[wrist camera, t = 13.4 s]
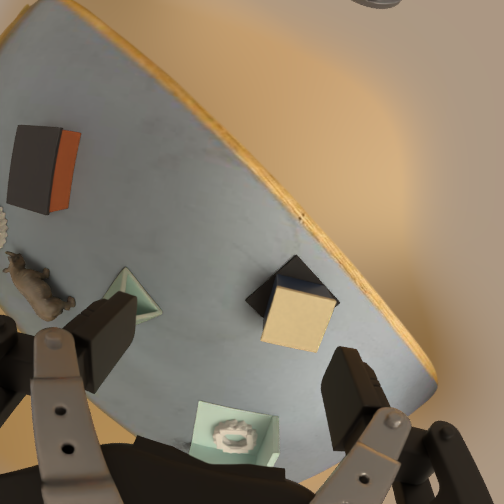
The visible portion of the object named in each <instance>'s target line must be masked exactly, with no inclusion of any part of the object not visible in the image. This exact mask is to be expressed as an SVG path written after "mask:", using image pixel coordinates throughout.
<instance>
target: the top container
mask: <svg viewBox="0 0 504 504" xmlns="http://www.w3.org/2000/svg"><path fill="white" fill-rule="evenodd" d="M335 304H336V300H335V299H332V297H331V295H330V293H329V291H328V289H327V287H326V286H324V285H320V284H316V283H312V282H308V281H304V280H300V279H296V278H292V277H288V276H284V275H280V274H276V278H275V281H274V284H273V288H272V291H271V295H270V298H269V301H268V305H267V308H266V311H265V315H264V318H263V332H262V336H261V341H263V342H268V343H272V344H277V345H281V346H286V347H291V348H295V349H300V350H305V351H310V352H315V353H317V350H318V348H319V346H320V343H321V341H322V338H323V336H324V333H325V331H326V328H327V326H328V323H329V320H330V318H331V315H332V312H333V310H334V307H335Z"/></svg>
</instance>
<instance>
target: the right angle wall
mask: <svg viewBox="0 0 504 504" xmlns="http://www.w3.org/2000/svg"><path fill="white" fill-rule="evenodd" d="M279 454H280V446H279V417H277V416H271V415H265V414H259V413H253V412H248V411H243V410H238V409H233V408H228V407H223V406H219V405H214V404H210V403H206V402H202V401H199V404H198V410H197V415H196V421H195V426H194V432H193V438H192V443H191V447H190V451H189V455H191V456H193V457H195V458H197V459H199V460H202V461H204V462H206V463H209V464H254V465H261V466H268V467H273V465H274V463H275V461H276V460H277V458H278V456H279Z"/></svg>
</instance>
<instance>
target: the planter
mask: <svg viewBox="0 0 504 504" xmlns="http://www.w3.org/2000/svg"><path fill="white" fill-rule="evenodd" d="M118 291H122V292H125V293H128V294H131V295H134V296H136V297H137V313H136V325H137V324H140V323H142V322H145V321H147V320H150V319H152V318H155V317H157V316H159V315H161V314H162V311H161V309H160V308H159V307H158V305H157V304H156V303H155V302H154V301H153V299H152V298H151V297H150V296H149V295H148V293H147V292H146V291H145V290H144V288H143V287H142V286H141V285H140V283H139V282H138V281H137V280H136V278H135V277H134V276H133V275H132V273H131V272H130V271H129V270H128V269H127V268H126V267H125V268H124V269H123V270H122V271H121V273H120V274H119V275H118V277H117V278H116V279H115V281H114V282H113V284H112V285H111V286H110V288H109V289H108V291H107V292H106V294H105V295H104V297H103V298H102V299H104V298H105V299H107V300H108V299H109V298H111V297H112V296H113V295H114V294H115V293H116V292H118Z"/></svg>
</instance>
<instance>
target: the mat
mask: <svg viewBox="0 0 504 504" xmlns="http://www.w3.org/2000/svg"><path fill="white" fill-rule="evenodd" d="M276 274H280V275H284V276H288V277H292V278H296V279H300V280H304V281H308V282H312V283H316V284H320V285H324V284H323V283H322V282H321V281H320V280H319V279H318V278H317V276H316V275H315V274H314V273H313V272H312V271H311V270H310V269H309V268H308V267H307V266H306V264H305V263H304V262H303V261H302V260H301V259H300V258H299V257H298V256H297V255H296V256H295V257H293V258H292V259H291V260H290V261H289V262H288V263H287V264H286V265H284V266H283V267H282V268H281V269H280V270H279V271H278V272H277V273H275V274H274V275H273V276H272V277H271V278H270V279H269V280H267V281H266V282H265V283H264V284H263V285H262V286H261V287H259V288H258V289H257V290H256V291H255V292H254V293H253V294H251V295H250V296H249V297H248V298H247V299H246V300H245V301H246V302H247V303H248V304H249V305H250V306H251V307H252V308H253V309H254V310H255V311H256V312H258V313H259V314H260V315H261V316H262V317H263V318H264V315H265V311H266V308H267V305H268V301H269V298H270V295H271V291H272V288H273V284H274V281H275V278H276ZM324 286H325V285H324ZM327 289H328V288H327ZM328 291H329V290H328ZM329 293H330V295H331V297H332V299H335V300H336V304H335V307H336V306H337V305H338V304H339V303H340V302H339V301H338V300H337V298H336V297H335V296H334V295H333V294H332V293H331V292H330V291H329ZM335 307H334V308H335Z"/></svg>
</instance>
